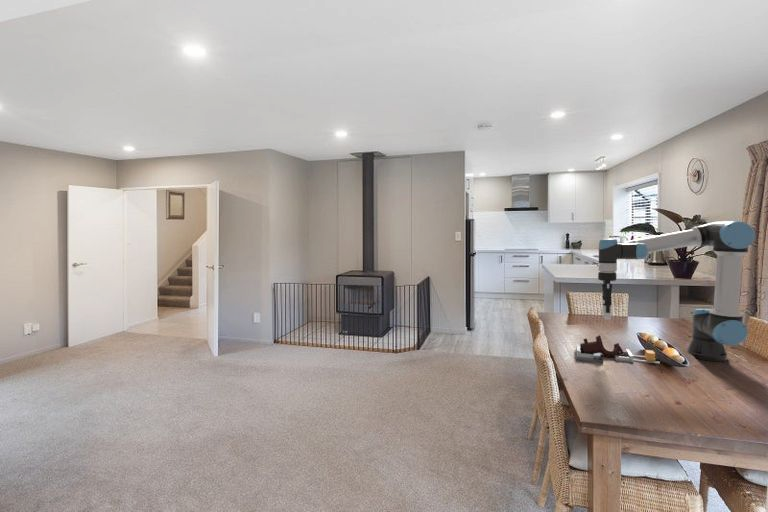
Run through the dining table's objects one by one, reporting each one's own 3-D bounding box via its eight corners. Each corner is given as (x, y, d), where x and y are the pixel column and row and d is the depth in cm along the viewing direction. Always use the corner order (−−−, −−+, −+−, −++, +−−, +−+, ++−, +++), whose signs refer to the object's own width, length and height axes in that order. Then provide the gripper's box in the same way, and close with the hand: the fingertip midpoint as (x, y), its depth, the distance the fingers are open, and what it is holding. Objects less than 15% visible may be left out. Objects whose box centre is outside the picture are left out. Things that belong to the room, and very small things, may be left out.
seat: (654, 359, 192) (654, 350, 192) (661, 368, 181) (661, 359, 180) (574, 352, 205) (574, 343, 205) (576, 360, 193) (576, 351, 193)
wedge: (652, 358, 189) (652, 350, 189) (655, 362, 185) (655, 353, 184) (644, 358, 190) (645, 349, 190) (647, 361, 186) (647, 353, 186)
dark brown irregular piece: (625, 353, 189) (618, 332, 192) (586, 359, 193) (580, 338, 196) (621, 354, 195) (615, 333, 198) (584, 360, 198) (578, 339, 202)
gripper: (597, 268, 204) (596, 310, 206) (599, 274, 182) (598, 321, 183) (614, 269, 201) (613, 311, 203) (619, 275, 179) (617, 323, 180)
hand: (606, 316), depth 193 cm, fingers open, 13 cm apart
